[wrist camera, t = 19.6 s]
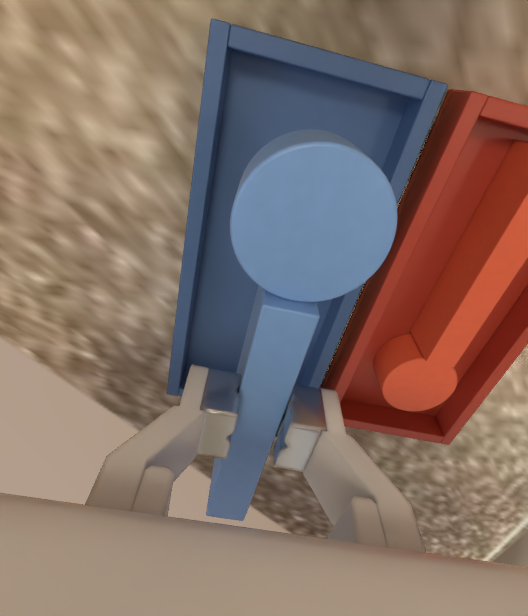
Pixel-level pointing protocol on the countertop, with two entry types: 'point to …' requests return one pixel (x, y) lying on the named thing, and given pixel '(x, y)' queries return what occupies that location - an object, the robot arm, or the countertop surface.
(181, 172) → the countertop surface
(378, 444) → the countertop surface
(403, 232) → the red tray
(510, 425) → the countertop surface
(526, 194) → the red spoon
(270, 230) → the blue spoon
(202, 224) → the blue tray
